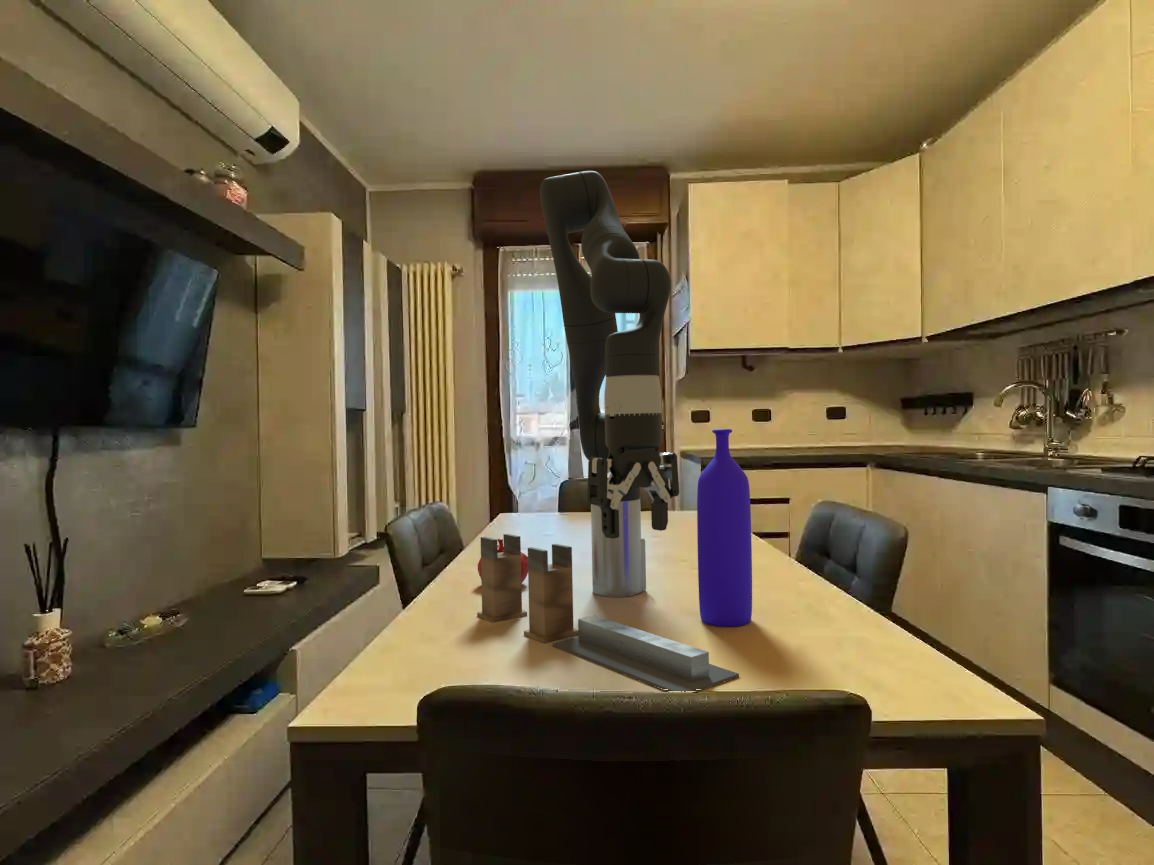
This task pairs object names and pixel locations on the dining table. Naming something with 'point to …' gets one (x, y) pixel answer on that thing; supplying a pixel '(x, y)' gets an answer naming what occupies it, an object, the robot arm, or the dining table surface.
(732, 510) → the bottle
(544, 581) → the post
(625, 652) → the rail
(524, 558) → the pomegranate
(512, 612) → the post
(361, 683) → the dining table surface
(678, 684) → the mat
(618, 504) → the robot arm
